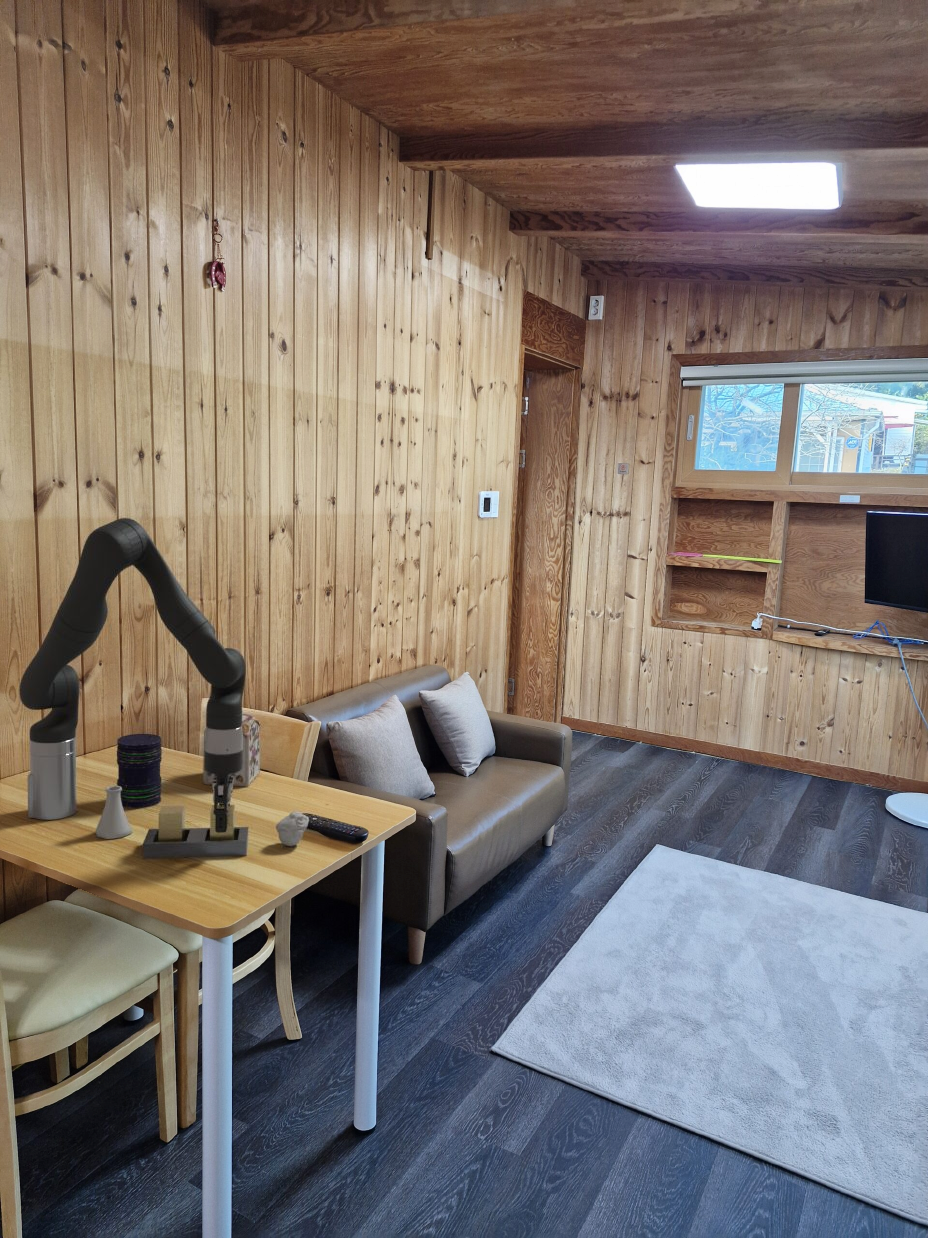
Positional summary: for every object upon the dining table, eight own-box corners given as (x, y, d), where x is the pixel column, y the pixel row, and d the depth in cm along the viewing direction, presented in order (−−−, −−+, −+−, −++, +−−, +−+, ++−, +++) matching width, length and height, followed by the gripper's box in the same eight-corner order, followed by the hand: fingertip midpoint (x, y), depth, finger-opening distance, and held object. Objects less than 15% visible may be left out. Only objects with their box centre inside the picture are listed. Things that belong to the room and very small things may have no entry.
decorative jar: (216, 770, 235) (217, 703, 233) (260, 773, 235) (262, 706, 232) (201, 785, 223) (202, 714, 221) (248, 788, 223) (249, 717, 221)
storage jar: (132, 811, 203) (132, 747, 201) (108, 801, 209) (107, 739, 207) (170, 801, 211) (170, 739, 209) (145, 791, 217) (146, 731, 215)
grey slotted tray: (142, 858, 178) (142, 844, 177) (148, 843, 185) (149, 829, 185) (246, 855, 182) (246, 841, 181) (248, 840, 189) (248, 827, 189)
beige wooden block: (232, 850, 183) (233, 812, 182) (210, 850, 182) (210, 812, 181) (234, 841, 187) (234, 804, 186) (211, 842, 186) (212, 805, 185)
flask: (120, 824, 195) (120, 780, 194) (138, 833, 190) (138, 788, 189) (88, 833, 189) (88, 787, 188) (106, 842, 185) (106, 796, 183)
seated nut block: (158, 852, 180) (158, 813, 179) (161, 843, 184) (161, 806, 183) (181, 851, 181) (182, 813, 180) (184, 843, 185) (184, 805, 184)
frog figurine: (312, 847, 187) (313, 815, 186) (280, 852, 184) (280, 820, 183) (302, 837, 192) (303, 806, 192) (270, 842, 189) (271, 810, 188)
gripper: (240, 757, 175) (239, 837, 178) (244, 738, 189) (243, 811, 192) (201, 757, 174) (200, 837, 176) (207, 738, 188) (206, 812, 190)
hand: (222, 824), depth 184 cm, fingers open, 8 cm apart
